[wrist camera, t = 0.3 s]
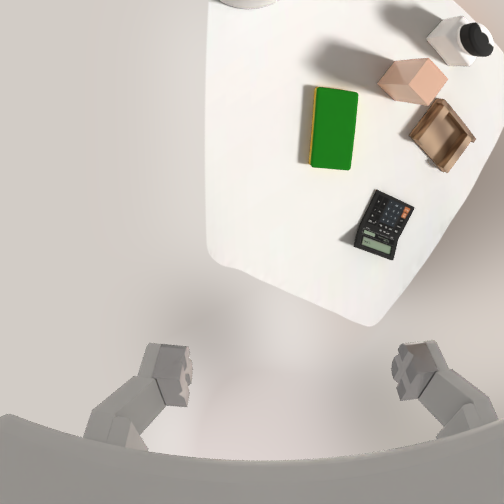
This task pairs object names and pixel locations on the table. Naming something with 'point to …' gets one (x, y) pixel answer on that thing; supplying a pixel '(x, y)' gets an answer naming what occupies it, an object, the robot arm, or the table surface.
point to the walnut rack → (442, 135)
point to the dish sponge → (333, 128)
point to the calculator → (382, 225)
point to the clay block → (413, 81)
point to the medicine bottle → (460, 41)
